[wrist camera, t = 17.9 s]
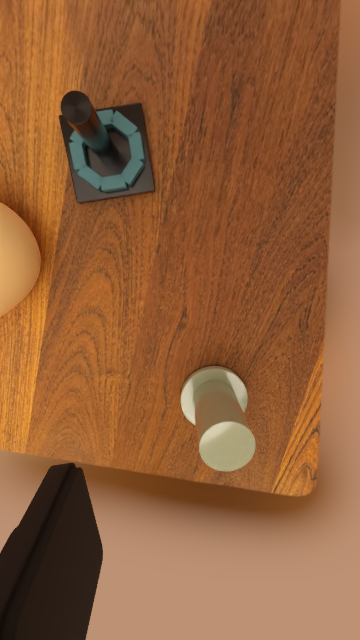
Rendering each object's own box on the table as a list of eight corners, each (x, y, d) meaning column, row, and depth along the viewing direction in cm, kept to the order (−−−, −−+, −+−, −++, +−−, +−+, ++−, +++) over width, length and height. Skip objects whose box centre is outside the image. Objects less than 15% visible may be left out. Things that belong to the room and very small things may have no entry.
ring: (137, 110, 31) (135, 105, 30) (149, 185, 32) (148, 183, 31) (67, 121, 31) (63, 116, 30) (82, 195, 32) (79, 194, 31)
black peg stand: (141, 106, 32) (125, 25, 20) (155, 192, 33) (147, 164, 22) (61, 119, 32) (-2, 46, 20) (79, 204, 33) (31, 182, 22)
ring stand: (242, 360, 38) (267, 400, 28) (249, 420, 40) (274, 477, 30) (175, 371, 38) (177, 414, 28) (185, 430, 40) (190, 490, 30)
